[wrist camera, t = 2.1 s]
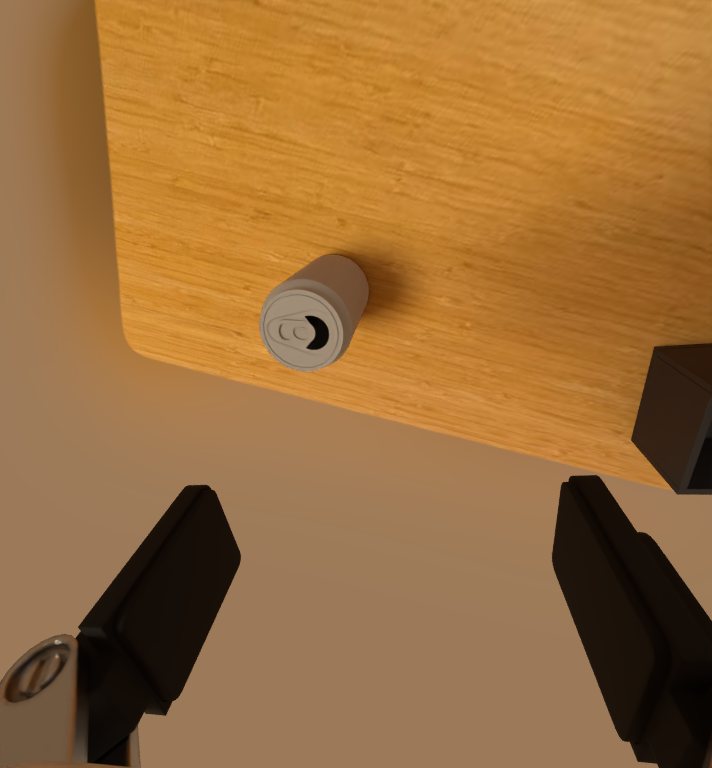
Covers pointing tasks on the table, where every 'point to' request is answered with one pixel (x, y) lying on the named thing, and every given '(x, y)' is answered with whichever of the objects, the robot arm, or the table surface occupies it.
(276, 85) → the table surface
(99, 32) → the table surface
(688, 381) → the bin
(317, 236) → the table surface
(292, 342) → the beverage can
